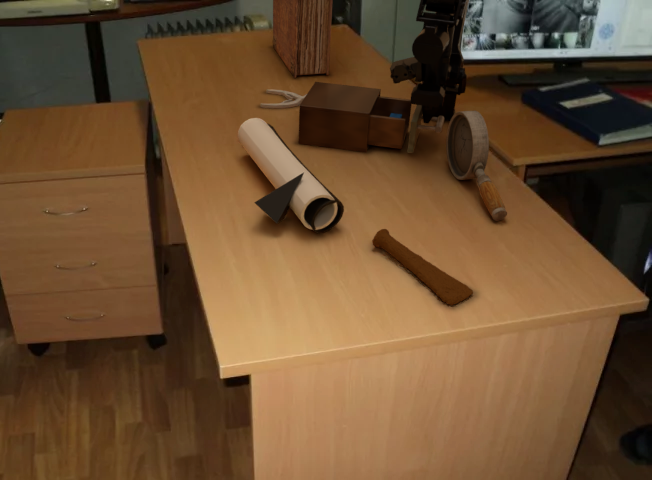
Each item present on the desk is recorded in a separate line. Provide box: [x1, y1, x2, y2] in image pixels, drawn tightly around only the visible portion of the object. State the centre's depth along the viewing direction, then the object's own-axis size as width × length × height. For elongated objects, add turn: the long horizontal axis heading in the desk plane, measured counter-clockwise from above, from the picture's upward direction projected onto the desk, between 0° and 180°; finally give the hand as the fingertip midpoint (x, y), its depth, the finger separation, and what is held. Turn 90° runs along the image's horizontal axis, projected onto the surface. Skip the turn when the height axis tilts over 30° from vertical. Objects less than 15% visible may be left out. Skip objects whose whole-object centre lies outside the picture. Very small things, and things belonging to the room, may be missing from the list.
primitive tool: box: [371, 228, 474, 306], centre depth 116 cm, size 19×6×4 cm, turn 39°
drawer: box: [368, 95, 445, 154], centre depth 154 cm, size 18×13×7 cm
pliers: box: [259, 89, 307, 109], centre depth 174 cm, size 10×2×15 cm
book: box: [272, 0, 333, 79], centre depth 188 cm, size 25×9×30 cm, turn 13°
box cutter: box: [390, 113, 402, 119], centre depth 155 cm, size 10×2×3 cm, turn 165°
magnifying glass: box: [445, 110, 508, 222], centre depth 137 cm, size 13×3×25 cm
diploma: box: [237, 117, 345, 234], centre depth 135 cm, size 35×9×14 cm
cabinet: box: [298, 81, 382, 153], centre depth 157 cm, size 15×14×9 cm
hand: (426, 122), depth 152 cm, fingers closed
